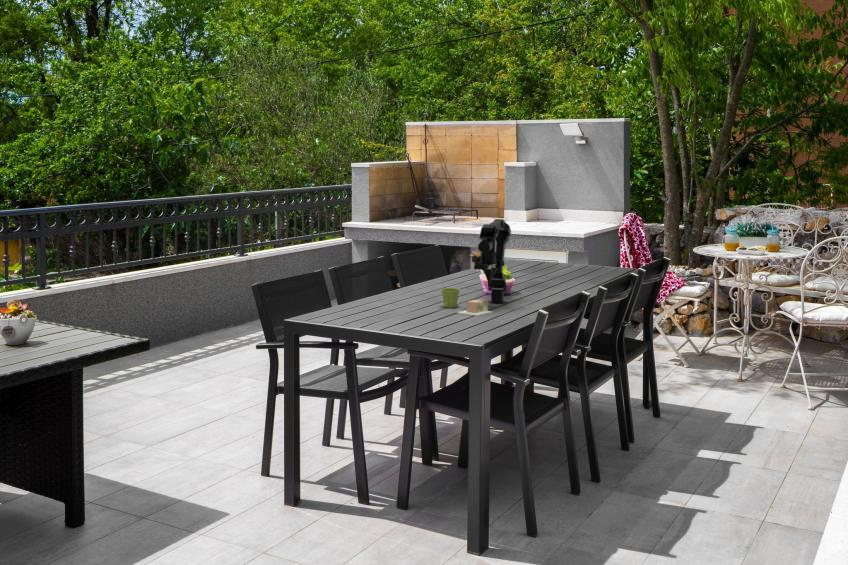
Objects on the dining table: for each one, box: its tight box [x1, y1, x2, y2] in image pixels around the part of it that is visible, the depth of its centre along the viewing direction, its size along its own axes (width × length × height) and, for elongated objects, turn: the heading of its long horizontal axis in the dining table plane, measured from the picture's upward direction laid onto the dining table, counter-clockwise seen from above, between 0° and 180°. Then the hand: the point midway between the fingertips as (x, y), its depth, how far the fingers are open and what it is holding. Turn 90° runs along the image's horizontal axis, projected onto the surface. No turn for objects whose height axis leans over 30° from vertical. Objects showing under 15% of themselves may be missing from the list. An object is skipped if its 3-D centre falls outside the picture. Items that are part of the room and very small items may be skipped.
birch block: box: [466, 298, 489, 313], centre depth 451 cm, size 5×5×10 cm
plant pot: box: [440, 287, 461, 309], centre depth 465 cm, size 9×9×9 cm
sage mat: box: [456, 309, 493, 317], centre depth 449 cm, size 12×12×1 cm
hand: (489, 282), depth 461 cm, fingers closed
